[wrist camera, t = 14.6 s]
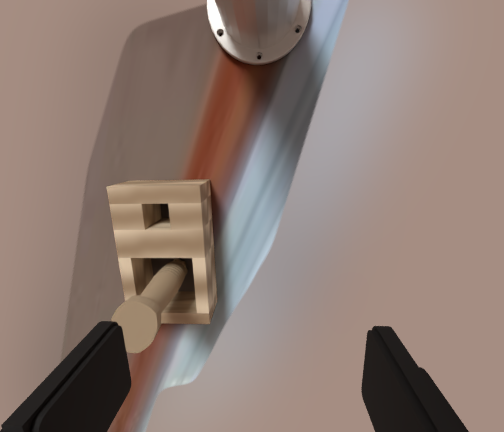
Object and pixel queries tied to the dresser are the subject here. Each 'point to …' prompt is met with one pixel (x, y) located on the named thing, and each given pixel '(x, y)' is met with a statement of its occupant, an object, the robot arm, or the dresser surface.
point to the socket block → (167, 242)
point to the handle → (149, 307)
